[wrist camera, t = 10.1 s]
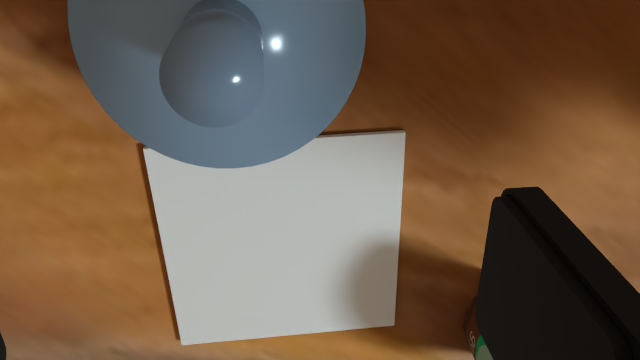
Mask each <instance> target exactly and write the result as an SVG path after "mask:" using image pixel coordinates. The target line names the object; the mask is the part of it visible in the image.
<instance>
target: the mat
mask: <svg viewBox="0 0 640 360" xmlns="http://www.w3.org/2000/svg"><path fill="white" fill-rule="evenodd" d="M405 134H406V132H405V131H404V130H396V131H380V132H364V133H348V134H332V135H318V136H316V137H315V138H314V139H313V140H312V141H310V142H309V143H307V144H306V145H304V146H303V147H301V148H300V149H298V150H296V151H294V152H292V153H290V154H288V155H287V156H285V157H282V158H279V159H277V160H274V161H271V162H268V163H264V164H260V165H256V166H252V167H243V168H210V167H201V166H196V165H192V164H188V163H184V162H181V161H178V160H175V159H172V158H169V157H167V156H165V155H162V154H160V153H158V152H156V151H154V150H152V149H150V148H149V147H147V146H144V148H143V152H144V157H145V162H146V167H147V172H148V177H149V182H150V187H151V192H152V197H153V202H154V207H155V212H156V217H157V222H158V227H159V232H160V238H161V243H162V248H163V253H164V258H165V263H166V268H167V273H168V278H169V283H170V288H171V293H172V298H173V303H174V308H175V313H176V318H177V323H178V329H179V334H180V339H181V344H182V345H189V344H200V343H210V342H221V341H232V340H243V339H254V338H264V337H275V336H286V335H297V334H308V333H318V332H329V331H340V330H351V329H362V328H372V327H383V326H394V323H395V306H396V288H397V271H398V254H399V237H400V220H401V203H402V186H403V169H404V151H405Z"/></svg>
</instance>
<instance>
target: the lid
mask: <svg viewBox="0 0 640 360" xmlns="http://www.w3.org/2000/svg"><path fill="white" fill-rule="evenodd" d="M67 8H68V27H69V33H70V40H71V45H72V48H73V52H74V55H75V58H76V62H77V64H78V67H79V69H80V71H81V73H82V76H83V78H84V80H85V82H86V84H87V85H88V87H89V89H90V90H91V92H92V94H93V95H94V97H95V99H96V100H97V101H98V102H99V104H100V105H101V106H102V108H103V109H104V110H105V112H106V113H107V114H108V115H109V116H110V117H111V118H112V119H113V120H114V121H115V122H116V123H117V124H118V125H119V126H120V127H121V128H122V129H123V130H125V131H126V132H127V133H128V134H130V135H131V136H132V137H133V138H135V139H136V140H138V141H139V142H141V143H142V144H144V145H145V146H147V147H149V148H150V149H152V150H154V151H156V152H158V153H160V154H162V155H165V156H167V157H169V158H172V159H175V160H178V161H181V162H184V163H188V164H192V165H196V166H201V167H210V168H243V167H252V166H256V165H260V164H264V163H268V162H271V161H274V160H277V159H279V158H282V157H285V156H287V155H288V154H290V153H292V152H294V151H296V150H298V149H300V148H301V147H303V146H304V145H306V144H307V143H309V142H310V141H312V140H313V139H314V138H315V137H316V136H318V135H319V134H320V133H321V132H322V131H323V130H325V129H326V127H327V126H328V125H329V124H330V123H331V122H332V121H333V120H334V118H335V117H336V116H337V115H338V113H339V112H340V110H341V109H342V108H343V106H344V105H345V103H346V102H347V100H348V98H349V96H350V94H351V92H352V90H353V88H354V86H355V83H356V81H357V78H358V75H359V72H360V69H361V65H362V61H363V56H364V51H365V41H366V14H365V8H364V2H363V0H68V3H67Z"/></svg>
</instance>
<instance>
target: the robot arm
mask: <svg viewBox="0 0 640 360" xmlns="http://www.w3.org/2000/svg"><path fill="white" fill-rule="evenodd" d="M475 318H476V323H477V327H478V329H479V332H480V334H481V336H482V338H483V340H484V342H485V344H486V346H487V348H488V350H489V352H490V354H491V356H492V358H493V360H640V294H639V293H638V292H637V291H636V289H635V288H634V287H633V286H632V285H631V284H630V283H629V282H628V281H627V280H626V279H625V278H624V277H623V276H622V275H621V273H620V272H619V271H618V270H617V269H616V268H615V267H614V266H613V265H612V264H611V263H610V262H609V261H608V260H607V259H606V257H605V256H604V255H603V254H602V253H601V252H600V251H599V250H598V249H597V248H596V247H595V246H594V245H593V244H592V243H591V242H590V240H589V239H588V238H587V237H586V236H585V235H584V234H583V233H582V232H581V231H580V230H579V229H578V228H577V227H576V226H575V224H574V223H573V222H572V221H571V220H570V219H569V218H568V217H567V216H566V215H565V214H564V213H563V212H562V211H561V210H560V208H559V207H558V206H557V205H556V204H555V203H554V202H553V201H552V200H551V199H550V198H549V197H548V196H547V195H546V194H545V193H544V191H543V190H542V189H540V188H539V187H522V188H507V189H505V190H504V191H503V193H502V195H501V197H495V198H494V200H493V202H492V207H491V213H490V219H489V226H488V232H487V238H486V245H485V251H484V257H483V264H482V270H481V276H480V283H479V289H478V295H477V302H476V308H475ZM0 360H6V347H5V343H4V341H3V338H2V336H1V333H0Z"/></svg>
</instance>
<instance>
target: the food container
mask: <svg viewBox="0 0 640 360" xmlns="http://www.w3.org/2000/svg"><path fill="white" fill-rule="evenodd" d="M476 302H477V296H476V297H475V298H474V299H473V301H472V303H471V305H470V306H469V308H468V310H467V312H466V316H465V322H464V330H465V334H466V338H467V340H468V343H469V346H470V349H471V351H472V354H473V357H474V359H475V360H493V358H492V356H491V354H490V352H489V350H488V348H487V346H486V344H485V342H484V340H483V338H482V336H481V334H480V332H479V329H478V327H477V323H476V318H475V308H476Z"/></svg>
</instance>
